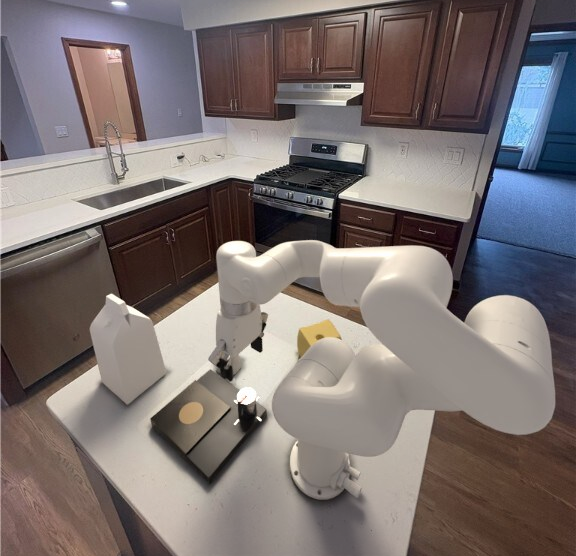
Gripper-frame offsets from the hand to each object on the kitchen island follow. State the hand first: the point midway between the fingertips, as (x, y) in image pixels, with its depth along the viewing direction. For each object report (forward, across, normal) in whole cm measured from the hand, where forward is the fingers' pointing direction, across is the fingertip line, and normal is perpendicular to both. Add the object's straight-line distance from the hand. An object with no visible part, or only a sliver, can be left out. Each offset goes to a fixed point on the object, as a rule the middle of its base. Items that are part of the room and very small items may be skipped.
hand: (242, 362), depth 70 cm
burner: (+14, +9, -9) cm, 19 cm away
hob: (+16, +6, -5) cm, 18 cm away
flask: (+16, -8, -13) cm, 22 cm away
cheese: (+16, -24, +7) cm, 30 cm away
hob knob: (+14, +1, +1) cm, 14 cm away
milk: (+16, +10, -31) cm, 37 cm away
